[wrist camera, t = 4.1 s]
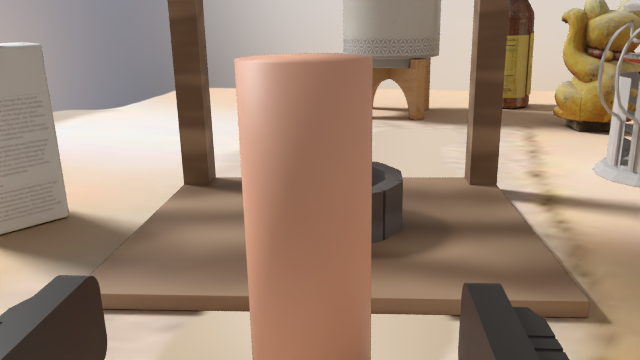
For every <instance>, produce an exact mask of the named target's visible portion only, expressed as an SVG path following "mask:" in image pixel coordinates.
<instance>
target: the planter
mask: <svg viewBox="0 0 640 360" xmlns="http://www.w3.org/2000/svg"><path fill="white" fill-rule="evenodd" d="M440 14H441V0H343V31H344V33H343V37H344V38H343V39H344V41H343V42H344V54H362V55H369V56H372V57H373V65H372V108H373V100H374V95H375V92H376V89H377V87H378V86H379V84H380V83H381V82H382V81H384V80H386V79H392V80H393V81H395V82H396V83H397V84H398V85H399V86H400V87H401V89H402V91H403V92H404V94H405V97H406V100H407V103H408V109H409V119H413V120H419V119H424V110H426V109H429V87H430V85H429V84H430V59H431V57H434V56H438V55H439V40H440Z"/></svg>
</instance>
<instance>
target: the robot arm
mask: <svg viewBox="0 0 640 360" xmlns="http://www.w3.org/2000/svg"><path fill="white" fill-rule="evenodd" d="M106 351H107V334H106V327H105V320H104V313H103V306H102V299H101V292H100V286H99V283H98V280H97V279H96V278H95V277H94V276H70V275H59V276H57V277H55V278H54V279H53V280H52V281H51V282H50V283H48V284H47V285H46V286H45V287H44V288H43V289H41V290H40V291H39V292H38V293H37V294H35V295H34V296H33V297H31V298H29V299H27V300H25V301H23V302H21V303H19V304H17V305H15V306H13V307H11V308H9V309H8V310H7V311H6V312H4V313H3V314H2V315H1V316H0V360H104V359H105V356H106ZM458 360H569V358H568V357H567V355H566V353H565V352H563V348H562V347H561V345H560V343H559V342H558V340H557V339H555V335H554V333H553V332H552V330H551V328H550V327H549V325H548V323H547V322H546V320H544V319H543V318H542V317H540V316H539V315H538V314H536V313H535V312H533V311H532V310H531V309H529V308H528V307H513V306H512V305H511V303H510V301H509V299H508V297H507V295H506V293H505V291H504V289H503V287H502V285H501V284H500V283H464V284H463V287H462V295H461V312H460V329H459V346H458Z"/></svg>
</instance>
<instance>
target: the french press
mask: <svg viewBox="0 0 640 360" xmlns="http://www.w3.org/2000/svg"><path fill="white" fill-rule="evenodd" d="M623 7H624V9H625V11H639V10H640V0H630V1H629V2H627V3H625V4H624V5H623ZM628 26H629V27H631V32H630V36H631V38H630V39H629V41H628V42H627V44H626V45H625V47H624V48H623V50H622V53H621V56H620V59H619V61H618V64H617V71H616V78H615V96H614V103H613V111H611V110H610V109H609V108H608V106H607V105H606V104H605V102H604V97H603V92H602V87H601V85H602V72H603V63H604V60H605V57H606V54H607V52H608V50H609V48H610V46H611V44H612V42H613V40H614V39H615V38H616V36H617V35H618V34H619V32H621V31H622V30H624V29H625V28H627V27H628ZM638 32H640V28H639V29H637V30H636V31H635V32H634V25H633V23H628V24H626V25H625V26H623V27H622V28H620V29H619V30H617V31H616V32H615V34H614V35H613V36H612V38H611V39H610V40H609V42H608V44H607V47H606V49H605V51H604V53H603V56H602V58H601V61H600V66H599V75H598V91H599V96H600V100H601V103H602V105H603V106H604V108H605V109H606V111H607V112H608V113H610V114H611V115H612V119H611V127H610V134H609V142H608V150H607V157H606V158H604V159H602V160H601V161H600V162H598V163H597V164H596V165H595V166H594V167H593V168H592V170H593V171H594V172H595V173H596V174H597V175H599V176H601V177H603V178H606V179H608V180H611V181H614V182H618V183H622V184H626V185H630V186H635V187H640V72H625V73H620V71H621V64H622V61H623V59H624V60H625V61H627V62H629V63H633V64H638V65H640V52H639V53H629V54H626V51H627V49H628V46H629V45H630V43H631V42H632V41H633V42H635V43H640V39H636V38H635V36H636V35H637V33H638ZM625 54H626V55H625ZM635 54H636V55H635ZM637 54H638V55H637ZM630 87H632V88H633V89H635V90H637V91H638V96H637V98H636V97H634V96H632V95H630V94H629V93H630ZM628 102H629V103H631V104H633V105H635V106H636V111H635V112H633V111H631V110H629V109H627V108H628ZM626 117H628V118H630V119H631V120H633V121H634V125H633V127H632V126H630V125H628V124H626ZM624 131H626V132H628V133H630V134H632V140H631V141H630V140H628V139H626V138H624Z"/></svg>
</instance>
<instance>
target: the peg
mask: <svg viewBox="0 0 640 360" xmlns="http://www.w3.org/2000/svg"><path fill="white" fill-rule="evenodd" d="M372 65H373V57H372V56H369V55H362V54H341V53H340V54H339V53H308V54H307V53H304V54H277V55H262V56H250V57H242V58H237V59H235V76H236V92H237V108H238V125H239V141H240V158H241V174H242V191H243V207H244V223H245V240H246V256H247V273H248V289H249V306H250V320H251V338H252V355H253V360H371V218H372Z"/></svg>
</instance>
